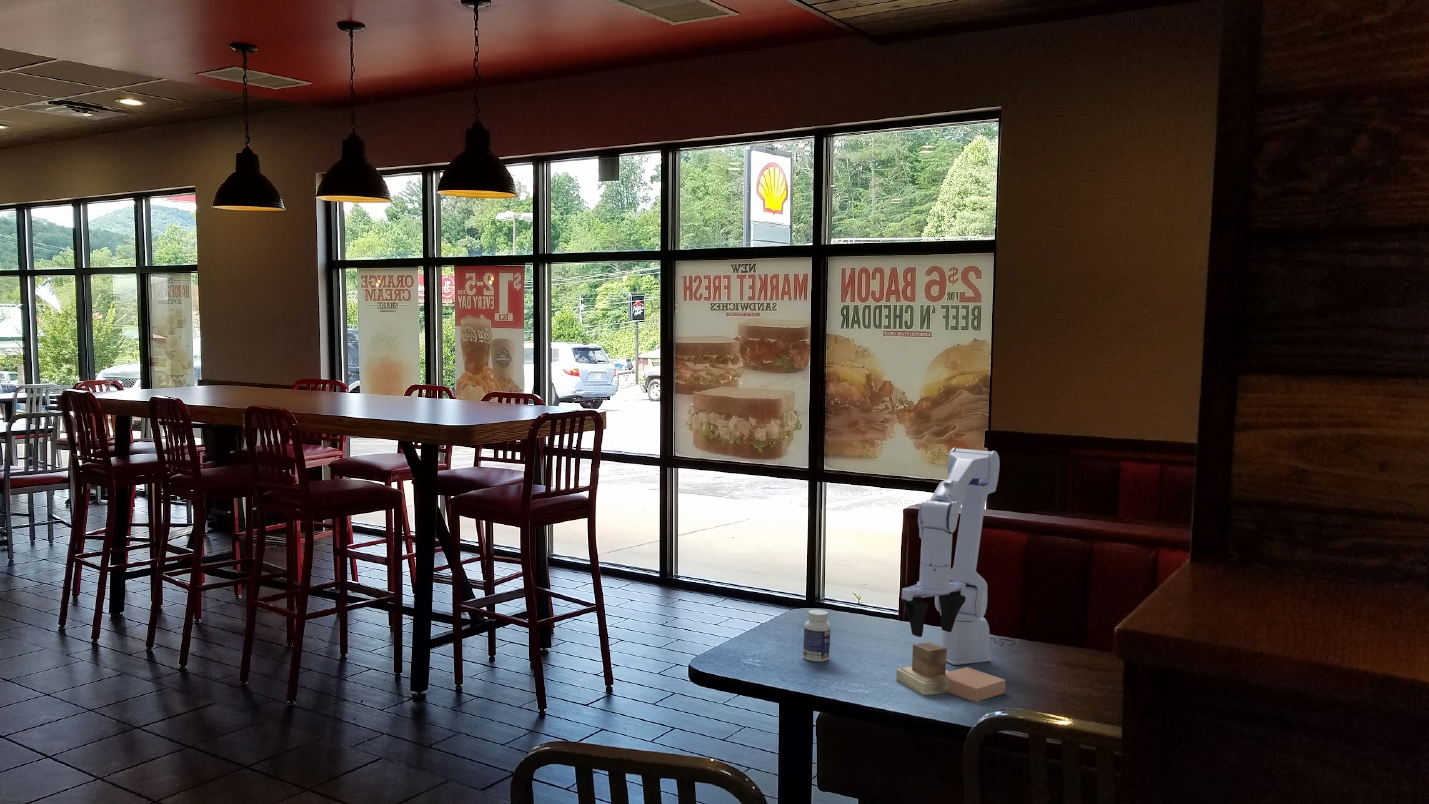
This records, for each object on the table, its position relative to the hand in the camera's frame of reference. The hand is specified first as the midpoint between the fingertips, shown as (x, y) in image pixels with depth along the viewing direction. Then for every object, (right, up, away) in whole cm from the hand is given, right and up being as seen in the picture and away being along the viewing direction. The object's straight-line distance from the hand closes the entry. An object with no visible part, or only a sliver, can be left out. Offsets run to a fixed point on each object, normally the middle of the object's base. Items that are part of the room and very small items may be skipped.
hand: (931, 633), depth 194 cm
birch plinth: (0, -10, +1) cm, 10 cm away
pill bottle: (-21, -9, +14) cm, 27 cm away
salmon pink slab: (+7, -11, -2) cm, 13 cm away
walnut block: (0, -8, +1) cm, 8 cm away
